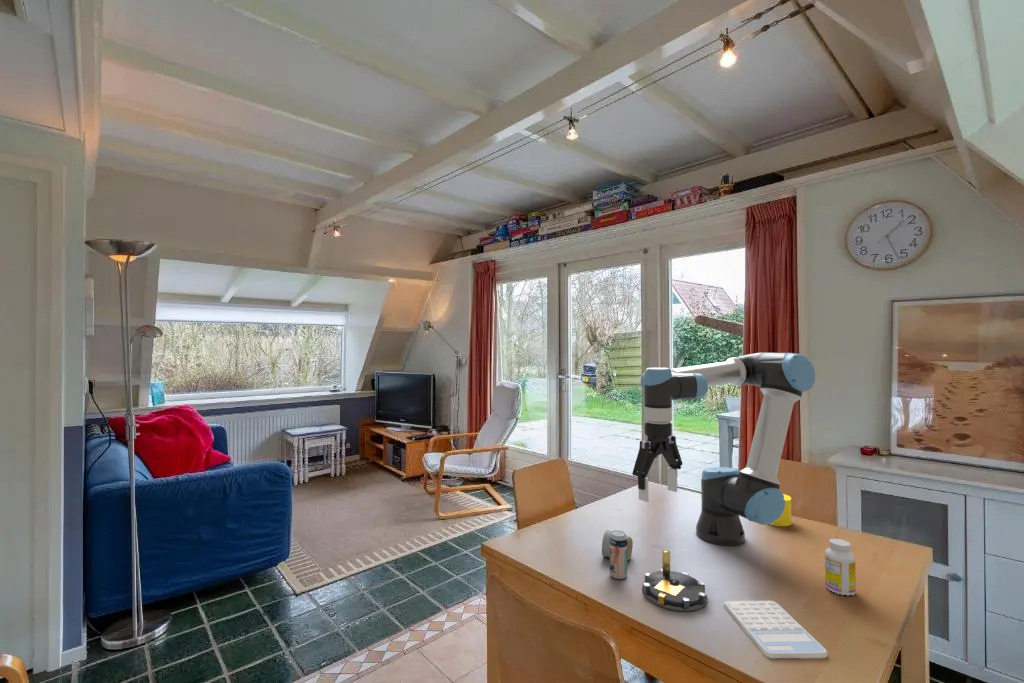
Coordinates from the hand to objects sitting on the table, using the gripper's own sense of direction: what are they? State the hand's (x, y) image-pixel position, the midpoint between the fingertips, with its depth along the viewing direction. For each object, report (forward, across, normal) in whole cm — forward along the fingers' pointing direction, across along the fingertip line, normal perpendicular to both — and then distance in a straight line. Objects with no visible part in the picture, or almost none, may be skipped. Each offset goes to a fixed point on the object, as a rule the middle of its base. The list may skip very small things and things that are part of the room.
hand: (658, 495), depth 134 cm
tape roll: (+23, -66, +3) cm, 70 cm away
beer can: (+22, +11, -5) cm, 25 cm away
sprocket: (+22, +7, +10) cm, 25 cm away
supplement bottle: (+22, -30, +35) cm, 51 cm away
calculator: (+23, +2, +32) cm, 39 cm away
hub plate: (+22, +7, +10) cm, 25 cm away
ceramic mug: (+22, +2, -14) cm, 26 cm away
